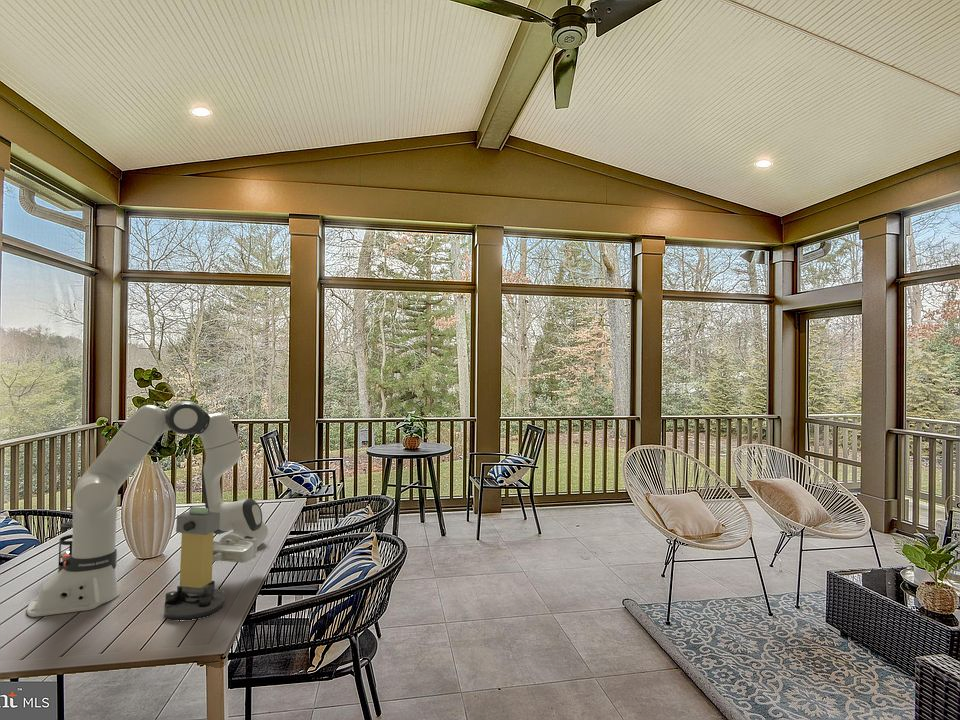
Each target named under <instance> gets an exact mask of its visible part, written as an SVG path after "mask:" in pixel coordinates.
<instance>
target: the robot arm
mask: <svg viewBox="0 0 960 720" xmlns="http://www.w3.org/2000/svg"><path fill="white" fill-rule="evenodd" d="M169 431H173V432H174V433H176V434H178V435H198V436H199V438H200V439H201V442H202V443H201V444H202V446H203V448H204V453H205V460H204V463H203V465H202V466H201V470H200V471H201V474H200V475H201V483H202V491H203V499H204V506H205V507H204V508H208V510H209V511H208V512H216V513H220V526H219V529H218V530H216V531H214V535H221V534H225V533H227V534H225V535H223V536H222V537H221V539H220V540H219V541H214V540H213V563H214V562H229V563H230V562H232V563H247V562H249V561H251V560H252V559H254V558H255V559H256V558H257V552H258V547H259V546H261V545H262V544H263V543H264V542H265V540H266V538H267V537H268V534H269V529H268V526H267V524H266V523H265V522H264V521H263V513H262V507H261V506H260V505H259V504H258V502H257V501H256V500H255V499H252V498H250V497H249V498H245V499H240V500H237V501H232V502H227V503H226V502H224V501H223V497H222V492H221V491H222V490H221V483H220V482H221V477H222V476H223V474H225V473H226V472H227V471H228V470H229V469H231V468H232V467H234V466H235V465H236V464H237V463H238V461H239V460H240V458H241V455H242V447H241V444H240V439H239V436H238V434H237V431H236V429H235V427H234V424H233V422H232V421H231V419H230V417H229V415H228V414H226V413H223V412H212V413H207V412H206V411H205V410H204V409H203V408H202V407H201V406H200V405H199V404H198V403H197V402H195V401H191V400H181V401H178V402H176V403H173V404H172V405H169V406H167V407H165V408H161V407H159V406H157V405H153V404H145V405H142V406H140V407H139V408H138V409H137V410H136V411H135V412H133V413H132V414H131V416H129V418H128V419H127V420H126V421H125V422H123V424H122V426H121V427H120V428H119V429H118V431H117V432H116V434H114V436H113V437H112V438H111V440H110V441H109V442H108V443H107V445H106V446H105V447H104V449H103V450H102V451H101V452H100V454H99V455H98V456H97V457H96V459H94V461H93V462H92V463H91V464H90V466H88V468H87V469H86V471H85V472H84V473H83V475H82V476H81V477H80V478H79V480H78V481H77V483H76V486H75V488H74V491H73V493H72V494H73V495H72V506H73V509H72V521H73V528H72V534H73V537H72V538H71V539H72V540H71V541H72V555H69V554H65V555H64V556H63V558H61V562H62V561H63V569H62V570H61V571H60V572H58V571H57V573H55V575H52V577H50V578H49V579H47V580H46V581H45V582H44V583H43V584H42V585H41V587H40V589H39V591H38V594H37V597H36V598H34V599H33V600H32V601H30V602H29V604H28V606H27V608H26V614H27V616H29V617H31V618H36V617H37V618H38V617H44V616H50V615H60V614H66V613H75V612H76V613H77V612H82V611H89V610H90V611H91V610H93V609H96V608H98V607H99V606H101V605H103V604H105V603H106V604H107V603H108V602H111V601H112V600H114V599H116V598H117V597H118V596H119V595H120V594H121V593H120V592H121V591H120V590H119V586H118V581H117V574H116V573H117V572H116V567H117V565H118V552H117V551H118V549H116V544H117V543H116V540H117V539H116V537H117V536H116V535H117V517H118V515H117V514H118V513H117V512H118V497H119V495H118V494H119V493H118V492H119V490H120V488H121V487H122V485H123V484H124V483H125V482H126V480H128V478H129V477H130V476H131V475H132V473H134V472H135V470H136V469H137V468H138V467H139V466H140V464H141V463H142V462H143V460H144V459H145V457H147V455H148V453H149V452H150V450H152V448H153V447H154V446H155V445H156V443H157V442H158V441H159V439H160V437H161V436H162V435H163V434H164V433H165V432H169ZM230 531H231V532H230ZM228 532H229V533H228Z"/></svg>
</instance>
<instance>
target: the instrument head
mask: <svg viewBox="0 0 960 720" xmlns="http://www.w3.org/2000/svg"><path fill="white" fill-rule="evenodd" d="M208 511H209V510H208V508H205V507H200V506H199V507H198V506H197V507H196V506H192V507H190V508H189V509H188V511H186V512H183V513H181V514H178V515H176V528H175V532H176V533H180V534H181V541H180V542H181V547H180V565H179V566H180V567H179V568H180V569H179V570H180V571H179V585H180V586H182V593H187V594H197V595H204V589H205V588H206V587H208V586H209V585H208V584H209V583H210V582H212V581H213V580H212V579H213V563H214V562H213V541H214V538H215V537H214V535H215V534H214V531H216V530H218V529H219V526H220V513H216V512H208Z"/></svg>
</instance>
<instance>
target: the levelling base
mask: <svg viewBox="0 0 960 720" xmlns="http://www.w3.org/2000/svg"><path fill="white" fill-rule="evenodd" d="M215 584H216V581H215V580H212V582H210V583H209V584H208V585H209V586H208V587H206V588H205V589H204V595H197V594H187V593H182V586H180V584H178V585H177V586H176V587H177V588H176V589H177V591H175V590H174V591H173V590H172V591H168V592H166V593H165V599H164V601H165V602H164V605H163V607H164V608H163V611H164V612H163V616H164V618H166V620H169V619H170V620H169V621H172V620H179V621H178V622H181V621H180V620H192V619H198V618H202V619H204V618H203V617H205V618H208V617H210V615H211V616H213V615H215V614H217V613H219V612H220V611H221V610H223V608H224V606H225V592H224V591H223V589H222V590H221V589H219V588H215V586H216V585H215ZM218 611H219V612H218ZM216 612H217V613H216ZM214 613H215V614H214ZM212 614H213V615H212ZM207 616H208V617H207ZM198 620H199V619H198ZM192 621H193V620H192Z"/></svg>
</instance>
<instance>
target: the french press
mask: <svg viewBox="0 0 960 720" xmlns="http://www.w3.org/2000/svg"><path fill="white" fill-rule="evenodd" d="M69 509H70V510H71V509H72V510H73V505H72V506H70V507H69ZM59 527H60V528H61V532H62V533H65V532H66V531H68V530H70V529H73V520H70V521H65V522H63V523H60V525H59ZM72 537H73V533H72V534H68V535H63V536H62V537H60V538H59V544H58V565H57V568H58V569H57V570H58V571H57V573H58V572H60V571H61V570H62V569H63V561H62V558H63V556H64V555H65V554H69V555H72V540H69V539H72ZM62 545H63V546H69V549H68V550H67V551H64V552H62Z"/></svg>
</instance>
